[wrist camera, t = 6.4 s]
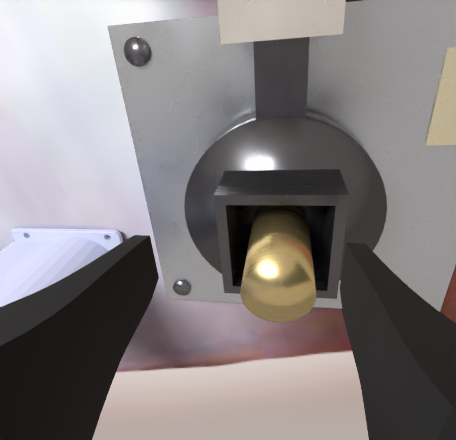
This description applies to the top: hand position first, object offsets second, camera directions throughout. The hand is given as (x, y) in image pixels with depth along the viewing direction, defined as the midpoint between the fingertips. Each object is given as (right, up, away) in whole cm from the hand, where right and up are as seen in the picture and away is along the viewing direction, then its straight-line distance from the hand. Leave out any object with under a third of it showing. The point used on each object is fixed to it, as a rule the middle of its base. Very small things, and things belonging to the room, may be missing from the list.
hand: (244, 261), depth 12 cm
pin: (+2, +2, +6) cm, 7 cm away
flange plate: (+4, +4, +9) cm, 10 cm away
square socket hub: (+2, +6, +6) cm, 9 cm away
